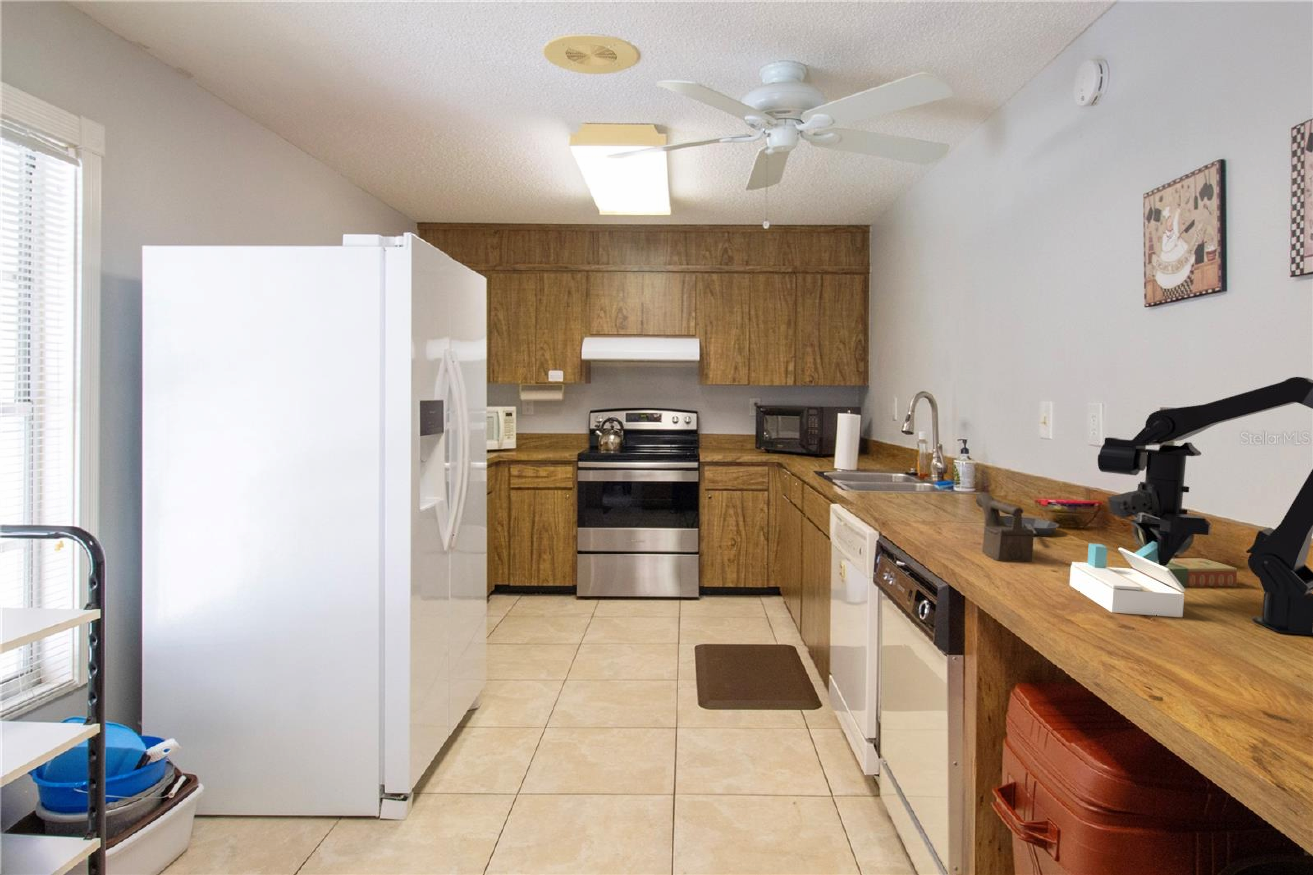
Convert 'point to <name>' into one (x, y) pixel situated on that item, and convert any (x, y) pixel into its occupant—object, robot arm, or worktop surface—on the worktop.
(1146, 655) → the worktop surface
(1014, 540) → the clothes iron
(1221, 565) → the carton
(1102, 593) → the carton box
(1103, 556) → the flap
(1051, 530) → the frying pan
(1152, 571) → the flap
